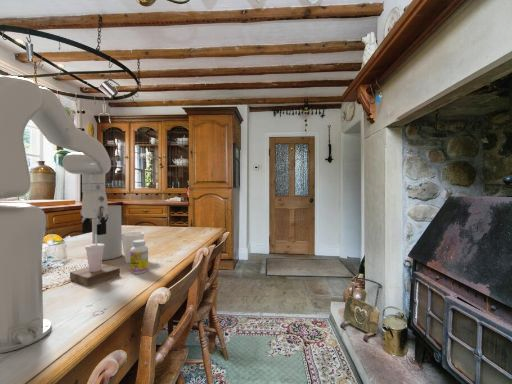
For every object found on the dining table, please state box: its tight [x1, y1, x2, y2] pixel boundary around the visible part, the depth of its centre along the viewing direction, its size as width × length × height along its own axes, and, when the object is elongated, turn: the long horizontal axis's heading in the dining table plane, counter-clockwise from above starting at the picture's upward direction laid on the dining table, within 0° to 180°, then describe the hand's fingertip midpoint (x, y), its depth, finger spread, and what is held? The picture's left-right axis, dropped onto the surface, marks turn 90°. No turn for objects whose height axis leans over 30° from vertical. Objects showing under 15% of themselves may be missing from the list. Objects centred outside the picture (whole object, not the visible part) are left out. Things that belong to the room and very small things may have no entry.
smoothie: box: [84, 234, 105, 272], centre depth 99 cm, size 6×6×14 cm
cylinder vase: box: [91, 205, 123, 261], centre depth 128 cm, size 12×12×25 cm
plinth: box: [69, 263, 121, 287], centre depth 100 cm, size 12×12×3 cm
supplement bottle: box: [130, 239, 149, 275], centre depth 107 cm, size 7×7×13 cm
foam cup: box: [121, 231, 145, 264], centre depth 121 cm, size 10×9×13 cm
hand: (94, 233), depth 99 cm, fingers open, 9 cm apart
